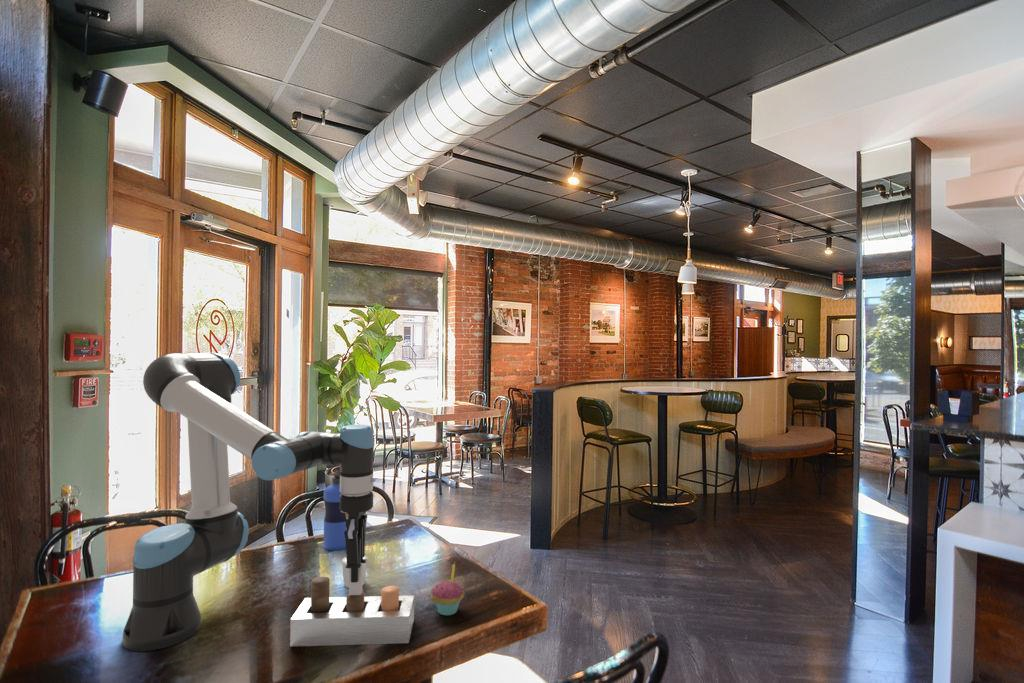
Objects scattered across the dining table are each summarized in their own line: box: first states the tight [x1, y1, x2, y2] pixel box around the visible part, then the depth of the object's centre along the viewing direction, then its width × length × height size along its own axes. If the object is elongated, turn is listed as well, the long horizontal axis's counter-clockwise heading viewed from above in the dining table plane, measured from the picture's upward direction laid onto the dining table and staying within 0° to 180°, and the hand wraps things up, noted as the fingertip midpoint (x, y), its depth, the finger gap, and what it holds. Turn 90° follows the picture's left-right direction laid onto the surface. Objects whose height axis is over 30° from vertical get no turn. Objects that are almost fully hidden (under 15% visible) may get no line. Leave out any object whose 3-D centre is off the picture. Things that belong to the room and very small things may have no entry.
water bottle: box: [323, 469, 349, 552], centre depth 177 cm, size 9×9×25 cm
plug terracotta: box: [380, 585, 400, 611], centre depth 124 cm, size 4×4×7 cm
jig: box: [289, 595, 415, 648], centre depth 123 cm, size 26×10×6 cm, turn 94°
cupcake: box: [430, 561, 466, 616], centre depth 133 cm, size 9×8×12 cm
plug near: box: [310, 576, 331, 613], centre depth 123 cm, size 4×4×7 cm
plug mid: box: [345, 591, 365, 612], centre depth 123 cm, size 4×4×7 cm
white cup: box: [341, 555, 368, 589], centre depth 149 cm, size 7×7×7 cm
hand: (355, 593), depth 123 cm, fingers closed
